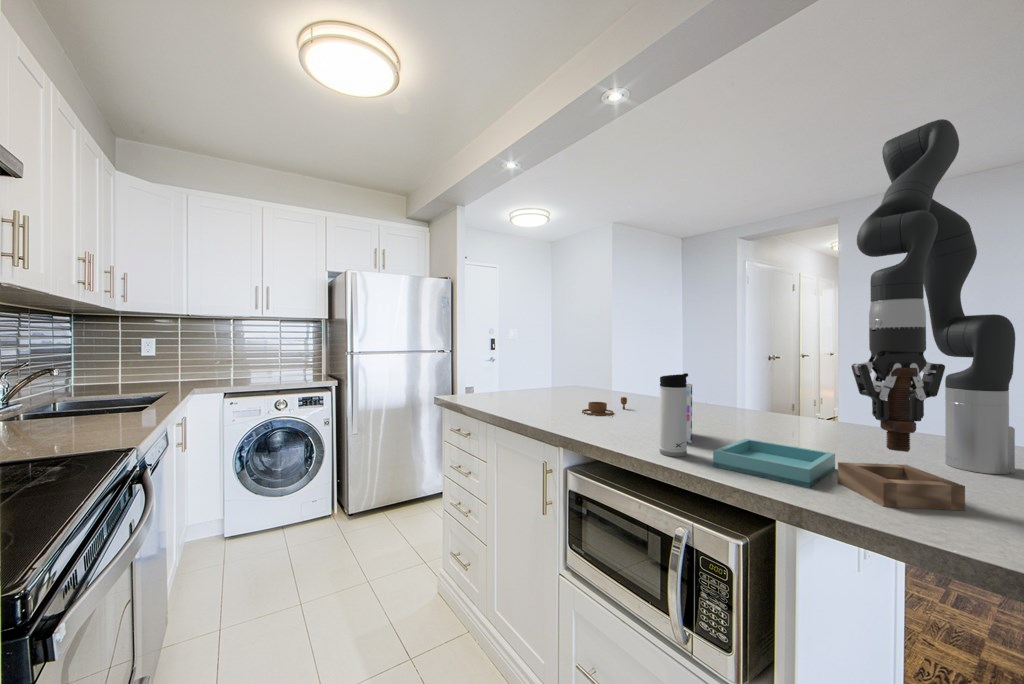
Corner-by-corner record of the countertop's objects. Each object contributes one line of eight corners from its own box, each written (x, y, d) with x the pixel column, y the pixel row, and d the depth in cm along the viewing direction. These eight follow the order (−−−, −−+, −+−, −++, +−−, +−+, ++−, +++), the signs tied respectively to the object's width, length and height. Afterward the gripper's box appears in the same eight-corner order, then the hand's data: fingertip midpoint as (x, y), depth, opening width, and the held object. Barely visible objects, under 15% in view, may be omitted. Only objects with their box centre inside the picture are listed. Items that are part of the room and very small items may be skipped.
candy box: (693, 444, 113) (693, 383, 113) (670, 443, 114) (670, 383, 114) (681, 433, 126) (681, 379, 126) (661, 432, 127) (661, 378, 127)
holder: (906, 485, 80) (906, 464, 80) (965, 510, 68) (965, 486, 68) (837, 482, 82) (838, 462, 82) (883, 506, 70) (883, 482, 70)
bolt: (913, 455, 71) (913, 368, 71) (875, 449, 75) (875, 366, 75) (921, 450, 74) (921, 367, 74) (884, 444, 79) (884, 365, 79)
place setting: (577, 411, 168) (577, 397, 168) (625, 411, 170) (625, 397, 170) (587, 419, 151) (587, 403, 151) (641, 419, 152) (641, 403, 152)
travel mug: (685, 458, 98) (685, 374, 98) (657, 454, 102) (657, 373, 102) (690, 452, 104) (690, 372, 104) (662, 449, 107) (662, 371, 107)
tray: (746, 452, 104) (746, 438, 104) (835, 469, 90) (835, 453, 90) (713, 466, 92) (713, 450, 92) (809, 488, 79) (809, 469, 79)
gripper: (923, 326, 78) (924, 417, 78) (839, 327, 79) (840, 416, 79) (961, 324, 70) (962, 425, 70) (867, 325, 72) (868, 424, 72)
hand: (897, 420), depth 75 cm, fingers closed on bolt, 4 cm apart
